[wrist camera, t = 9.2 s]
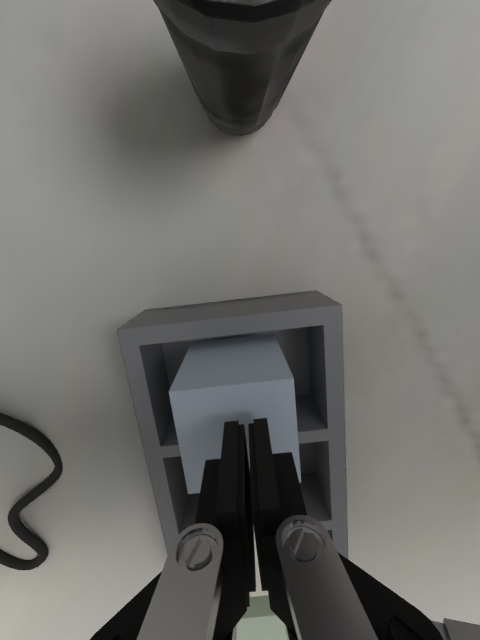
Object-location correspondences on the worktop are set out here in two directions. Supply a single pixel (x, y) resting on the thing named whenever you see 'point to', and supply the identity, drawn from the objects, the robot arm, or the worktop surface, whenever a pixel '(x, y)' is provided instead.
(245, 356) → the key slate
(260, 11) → the beverage cup
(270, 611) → the key sage
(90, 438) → the worktop surface
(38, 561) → the cable
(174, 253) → the worktop surface
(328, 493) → the box
